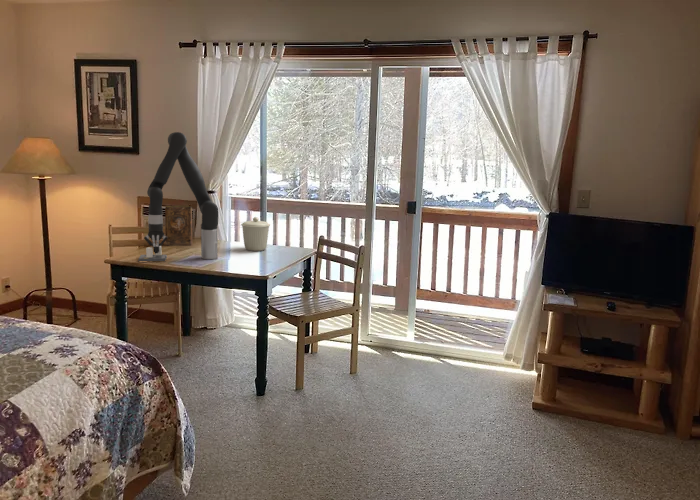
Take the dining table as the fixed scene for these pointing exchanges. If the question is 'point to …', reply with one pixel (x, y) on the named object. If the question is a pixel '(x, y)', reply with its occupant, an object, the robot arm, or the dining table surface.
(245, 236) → the canister
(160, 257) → the switch board
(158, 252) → the tab
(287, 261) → the dining table surface
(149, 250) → the tab
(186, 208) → the book
